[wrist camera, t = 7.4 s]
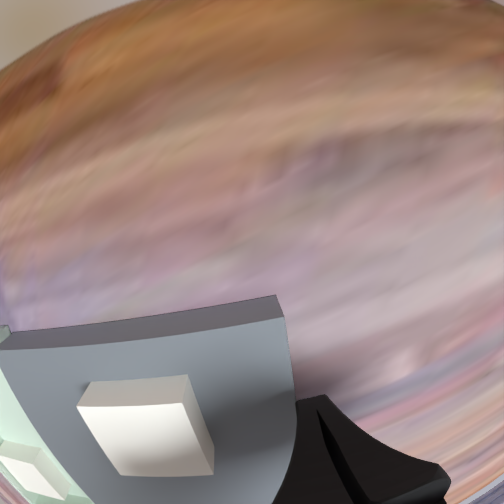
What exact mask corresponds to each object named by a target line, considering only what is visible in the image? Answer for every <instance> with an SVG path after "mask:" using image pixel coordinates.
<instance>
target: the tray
mask: <svg viewBox="0 0 504 504" xmlns="http://www.w3.org/2000/svg"><path fill="white" fill-rule="evenodd" d="M10 335H11V332H10V330H9V327H8V325H5V326H0V343H1V342H2V341H4V340H5V339H6V338H7V337H8V336H10ZM4 440H6V441H10V442H15V443H19V444H24V445H29V446H34V447H39V448H42V449H43V450H44V452H45V453H46V454H47V456H48V457H49V458H50V460H51V461H52V462H53V464H54V465H55V466H56V467H57V469H58V470H59V471H60V472H61V473H62V475H63V476H64V477H65V478H66V479H67V481H68V482H69V483H70V484H71V487H70V489H69V492H68V494H67V497H66V499H65V500H60V499H56V498H52V497H48V496H45V495H41V494H38V493H34V492H31V491H28V490H25V488H24V487H23V486H22V485H21V484H20V483H19V482H18V481H17V480H16V479H15V477H14V476H13V475H12V474H11V473H10V472H9V470H8V469H7V468H6V467H5V466H4V464H3V463H2V462H1V461H0V472H1V473H2V474H3V475H4V477H5V478H6V479H7V480H8V481H9V482H10V483H11V484H12V485H13V487H14V488H15V489H16V490H17V491H18V492H19V493H20V494H21V495H22V496H23V497H24V498H25V499H26V500H27V501H28V502H29V503H30V504H95V503H94V502H93V501H92V500H91V499H90V498H89V497H88V496H87V495H86V494H85V493H84V492H83V490H82V489H81V488H80V487H79V486H78V485H77V484H76V482H75V481H74V480H73V479H72V478H71V476H70V475H69V474H68V473H67V472H66V470H65V469H64V468H63V467H62V465H61V464H60V463H59V462H58V460H57V459H56V458H55V456H54V455H53V454H52V452H51V451H50V450H49V448H48V447H47V445H46V444H45V443H44V441H43V440H42V438H41V437H40V435H39V434H38V432H37V431H36V429H35V428H34V426H33V425H32V423H31V422H30V420H29V419H28V417H27V415H26V414H25V412H24V411H23V409H22V407H21V406H20V404H19V402H18V400H17V399H16V397H15V395H14V393H13V392H12V390H11V388H10V386H9V384H8V382H7V380H6V378H5V377H4V375H3V373H2V371H1V369H0V445H1V444H2V443H3V441H4Z"/></svg>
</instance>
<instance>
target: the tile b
mask: <svg viewBox="0 0 504 504" xmlns="http://www.w3.org/2000/svg"><path fill="white" fill-rule="evenodd" d="M76 407H77V409H78V411H79V412H80V414H81V416H82V418H83V419H84V421H85V423H86V424H87V426H88V428H89V429H90V431H91V432H92V434H93V436H94V437H95V439H96V440H97V442H98V443H99V445H100V447H101V448H102V450H103V451H104V453H105V454H106V455H107V457H108V458H109V460H110V461H111V463H112V464H113V465H114V467H115V468H116V470H117V471H118V472H119V474H120V475H124V476H145V477H182V476H204V475H214V444H213V442H212V439H211V437H210V434H209V432H208V429H207V427H206V424H205V421H204V419H203V416H202V414H201V411H200V408H199V405H198V403H197V400H196V397H195V394H194V391H193V389H192V386H191V383H190V380H189V377H188V374H186V375H178V376H168V377H158V378H147V379H134V380H118V381H96V382H90V384H89V386H88V387H87V389H86V391H85V392H84V394H83V396H82V397H81V399H80V401H79V402H78V404H77V406H76Z"/></svg>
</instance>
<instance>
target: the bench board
mask: <svg viewBox="0 0 504 504" xmlns="http://www.w3.org/2000/svg"><path fill="white" fill-rule="evenodd" d="M0 369H1V371H2V373H3V375H4V377H5V378H6V380H7V382H8V384H9V386H10V388H11V390H12V392H13V393H14V395H15V397H16V399H17V400H18V402H19V404H20V406H21V407H22V409H23V411H24V412H25V414H26V415H27V417H28V419H29V420H30V422H31V423H32V425H33V426H34V428H35V429H36V431H37V432H38V434H39V435H40V437H41V438H42V440H43V441H44V443H45V444H46V445H47V447H48V448H49V450H50V451H51V452H52V454H53V455H54V456H55V458H56V459H57V460H58V462H59V463H60V464H61V465H62V467H63V468H64V469H65V470H66V472H67V473H68V474H69V475H70V476H71V478H72V479H73V480H74V481H75V482H76V484H77V485H78V486H79V487H80V488H81V489H82V490H83V492H84V493H85V494H86V495H87V496H88V497H89V498H90V499H91V500H92V501H93V502H94V503H95V504H272V502H273V500H274V498H275V496H276V494H277V492H278V490H279V488H280V486H281V484H282V482H283V479H284V477H285V474H286V472H287V469H288V466H289V463H290V459H291V456H292V452H293V447H294V442H295V436H296V426H297V415H296V408H295V402H296V396H295V388H294V381H293V374H292V367H291V359H290V352H289V345H288V338H287V332H286V325H285V318H284V315H283V312H282V309H281V307H280V304H279V302H278V299H277V297H276V295H273V296H268V297H262V298H257V299H252V300H246V301H241V302H235V303H229V304H224V305H218V306H212V307H206V308H200V309H194V310H188V311H182V312H175V313H169V314H162V315H155V316H149V317H142V318H134V319H127V320H120V321H112V322H105V323H97V324H88V325H80V326H71V327H62V328H53V329H43V330H33V331H22V332H13V333H12V334H11V335H10V336H8V337H7V338H6V339H5V340H4V341H2V342H1V343H0ZM186 374H188V377H189V380H190V383H191V386H192V389H193V391H194V394H195V397H196V400H197V403H198V405H199V408H200V411H201V414H202V416H203V419H204V421H205V424H206V427H207V429H208V432H209V434H210V437H211V439H212V442H213V444H214V475H204V476H182V477H145V476H124V475H120V474H119V472H118V471H117V470H116V468H115V467H114V465H113V464H112V463H111V461H110V460H109V458H108V457H107V455H106V454H105V453H104V451H103V450H102V448H101V447H100V445H99V443H98V442H97V440H96V439H95V437H94V436H93V434H92V432H91V431H90V429H89V428H88V426H87V424H86V423H85V421H84V419H83V418H82V416H81V414H80V412H79V411H78V409H77V407H76V406H77V404H78V402H79V401H80V399H81V397H82V396H83V394H84V392H85V391H86V389H87V387H88V386H89V384H90V382H96V381H118V380H134V379H147V378H158V377H168V376H178V375H186Z"/></svg>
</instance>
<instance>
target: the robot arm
mask: <svg viewBox="0 0 504 504" xmlns="http://www.w3.org/2000/svg"><path fill="white" fill-rule="evenodd" d="M295 408H296V415H297V426H296V436H295V442H294V447H293V452H292V456H291V459H290V463H289V466H288V469H287V472H286V474H285V477H284V479H283V482H282V484H281V486H280V488H279V490H278V492H277V494H276V496H275V498H274V500H273V502H272V504H447V503H446V501H445V499H444V496H445V494H446V492H447V491H448V489H449V487H450V484H451V479H450V477H449V476H448V474H447V473H446V472H445V471H444V470H443V469H442V467H441V466H440V465H439V464H436V463H432V462H428V461H424V460H420V459H417V458H414V457H411V456H408V455H406V454H404V453H402V452H399V451H397V450H395V449H393V448H390V447H389V446H387V445H385V444H383V443H381V442H380V441H378V440H376V439H375V438H373V437H372V436H370V435H369V434H367V433H366V432H365V431H363V430H362V429H361V428H359V427H358V426H357V425H356V424H354V423H353V422H352V421H351V420H350V419H349V418H348V417H347V416H345V415H344V414H343V413H342V412H341V411H340V410H339V409H338V408H337V407H336V406H335V404H334V403H333V402H332V401H331V400H330V399H329V397H328V396H327V395H325V394H323V395H319V396H315V397H311V398H307V399H302V400H298V401H296V402H295ZM469 504H504V481H502V482H501V483H499V484H498V485H497V486H495V487H494V488H492V489H491V490H489V491H488V492H486V493H485V494H483V495H482V496H480V497H479V498H477V499H475V500H474V501H472V502H471V503H469Z"/></svg>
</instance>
